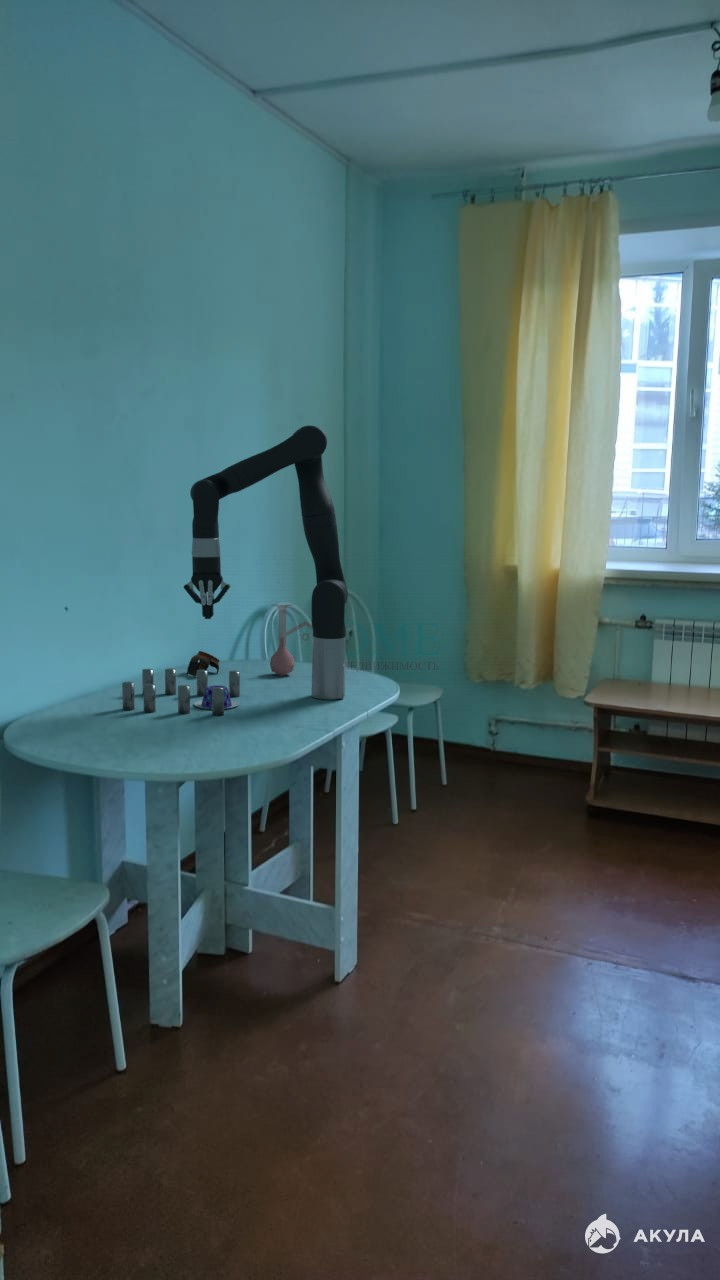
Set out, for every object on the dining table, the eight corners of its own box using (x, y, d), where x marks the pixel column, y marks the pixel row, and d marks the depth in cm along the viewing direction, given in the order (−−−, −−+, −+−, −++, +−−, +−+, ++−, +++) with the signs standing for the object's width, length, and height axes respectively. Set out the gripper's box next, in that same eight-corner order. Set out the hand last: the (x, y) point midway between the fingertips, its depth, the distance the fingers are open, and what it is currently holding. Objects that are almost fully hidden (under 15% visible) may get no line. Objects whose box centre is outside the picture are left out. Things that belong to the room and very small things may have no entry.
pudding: (192, 711, 242) (192, 692, 241) (195, 701, 254) (195, 682, 253) (239, 711, 243) (239, 692, 243) (239, 701, 255) (239, 682, 254)
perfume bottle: (293, 677, 287) (293, 639, 285) (268, 677, 287) (269, 639, 285) (295, 673, 295) (295, 635, 293) (271, 672, 295) (271, 635, 293)
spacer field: (240, 695, 261) (240, 670, 260) (222, 716, 237) (222, 689, 235) (146, 691, 263) (146, 667, 262) (118, 712, 238) (118, 685, 237)
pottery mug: (183, 673, 292) (194, 650, 294) (210, 686, 294) (221, 663, 296) (186, 671, 280) (198, 646, 282) (214, 684, 282) (226, 660, 284)
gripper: (232, 554, 253) (234, 616, 256) (184, 554, 253) (186, 616, 256) (228, 555, 246) (229, 620, 248) (178, 555, 246) (180, 620, 249)
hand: (207, 618), depth 252 cm, fingers closed
